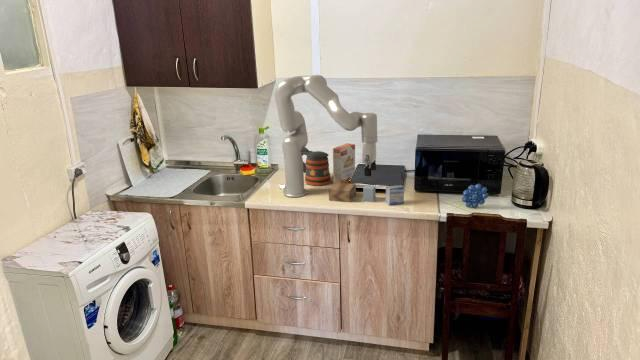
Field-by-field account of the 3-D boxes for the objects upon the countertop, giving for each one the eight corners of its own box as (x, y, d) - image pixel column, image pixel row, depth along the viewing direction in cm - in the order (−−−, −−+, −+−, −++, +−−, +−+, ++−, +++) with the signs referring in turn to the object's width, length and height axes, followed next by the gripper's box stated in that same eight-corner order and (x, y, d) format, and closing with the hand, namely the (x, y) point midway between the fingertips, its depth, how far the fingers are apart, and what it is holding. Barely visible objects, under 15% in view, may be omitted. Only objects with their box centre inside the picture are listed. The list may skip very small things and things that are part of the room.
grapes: (486, 205, 224) (488, 181, 221) (487, 210, 218) (489, 186, 214) (461, 203, 228) (462, 180, 224) (461, 208, 221) (462, 184, 218)
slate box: (363, 201, 235) (363, 188, 233) (365, 198, 240) (365, 185, 237) (373, 202, 233) (373, 189, 231) (375, 198, 238) (375, 185, 236)
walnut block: (329, 200, 238) (328, 189, 236) (335, 193, 248) (335, 182, 246) (350, 202, 234) (349, 191, 232) (355, 194, 244) (355, 183, 242)
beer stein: (293, 184, 264) (291, 149, 258) (304, 176, 277) (303, 143, 271) (324, 187, 257) (323, 151, 251) (334, 179, 270) (333, 145, 264)
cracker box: (342, 186, 257) (341, 149, 251) (333, 184, 261) (332, 148, 254) (356, 179, 268) (355, 143, 261) (347, 178, 271) (346, 142, 265)
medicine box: (389, 205, 228) (389, 188, 226) (385, 202, 232) (385, 186, 230) (404, 203, 230) (404, 186, 228) (400, 200, 234) (400, 184, 232)
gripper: (366, 134, 236) (367, 167, 241) (357, 143, 220) (358, 177, 225) (381, 135, 233) (381, 168, 238) (373, 143, 218) (373, 178, 223)
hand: (370, 173), depth 232 cm, fingers open, 9 cm apart
